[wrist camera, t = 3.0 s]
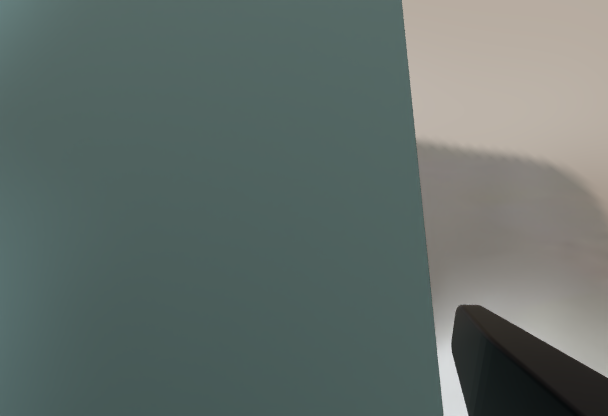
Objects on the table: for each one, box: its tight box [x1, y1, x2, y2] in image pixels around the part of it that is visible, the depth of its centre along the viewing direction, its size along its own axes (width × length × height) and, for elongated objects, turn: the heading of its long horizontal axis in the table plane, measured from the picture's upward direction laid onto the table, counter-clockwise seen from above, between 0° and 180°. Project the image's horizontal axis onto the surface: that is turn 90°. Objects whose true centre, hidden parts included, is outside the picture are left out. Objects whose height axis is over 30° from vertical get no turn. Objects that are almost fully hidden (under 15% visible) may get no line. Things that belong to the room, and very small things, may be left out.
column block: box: [0, 0, 443, 416], centre depth 9 cm, size 4×4×14 cm
